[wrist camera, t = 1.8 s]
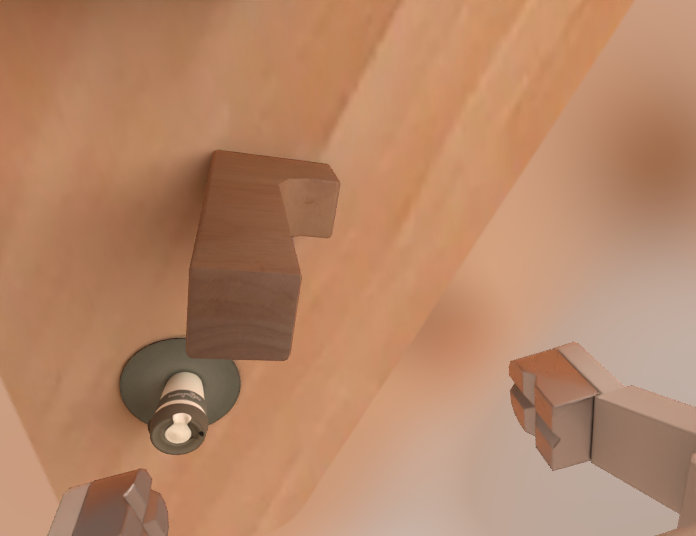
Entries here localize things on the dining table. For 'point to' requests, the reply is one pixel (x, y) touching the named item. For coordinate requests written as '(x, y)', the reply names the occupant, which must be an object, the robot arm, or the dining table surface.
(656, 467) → the robot arm
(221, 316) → the wooden block
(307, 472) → the dining table surface
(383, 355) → the dining table surface
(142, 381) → the coffee cup
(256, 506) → the dining table surface
